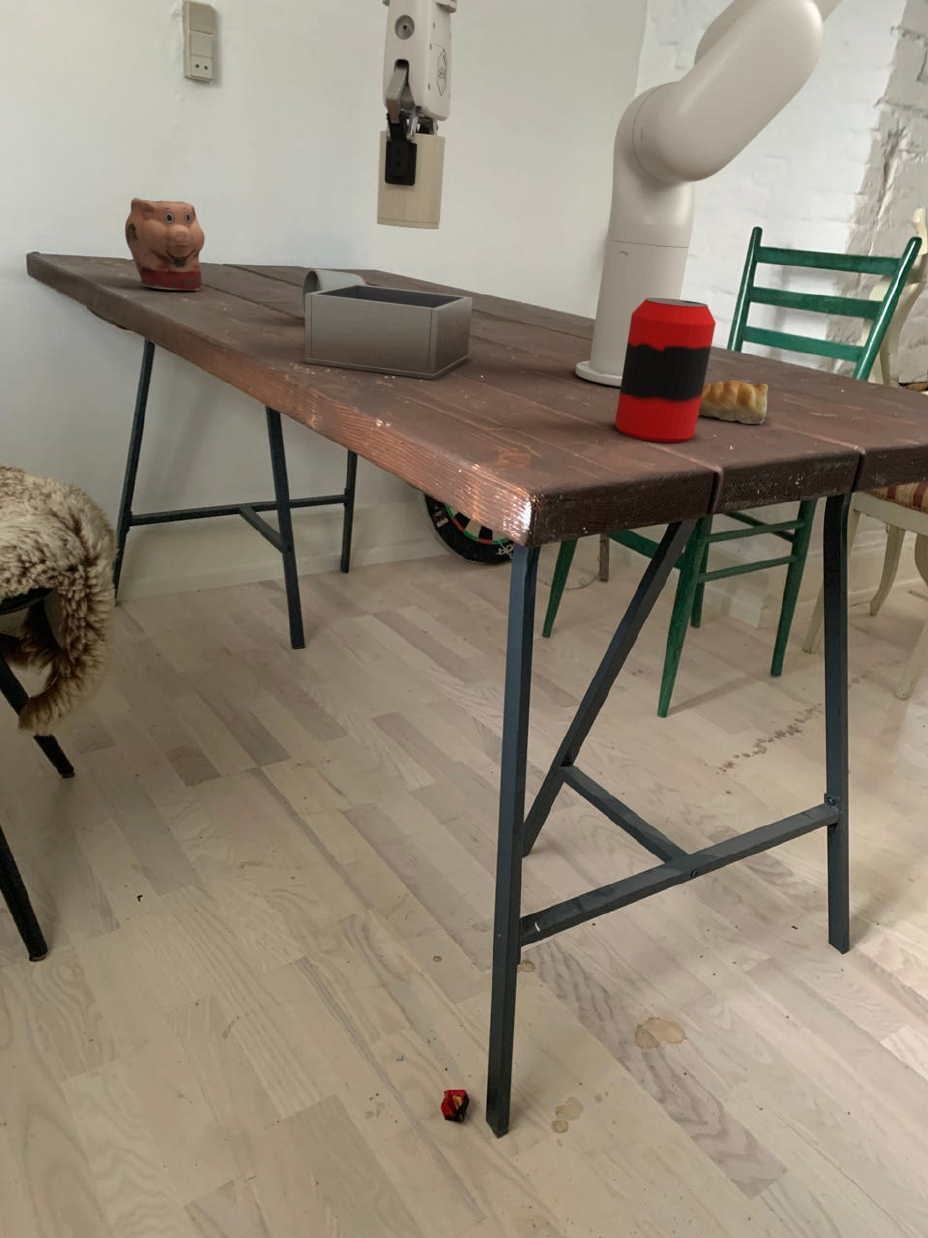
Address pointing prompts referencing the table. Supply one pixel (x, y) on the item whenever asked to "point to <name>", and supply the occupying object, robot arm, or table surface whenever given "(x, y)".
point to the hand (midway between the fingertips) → (410, 184)
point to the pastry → (734, 401)
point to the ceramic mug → (327, 281)
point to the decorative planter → (165, 244)
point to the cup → (413, 187)
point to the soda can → (664, 370)
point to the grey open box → (387, 330)
